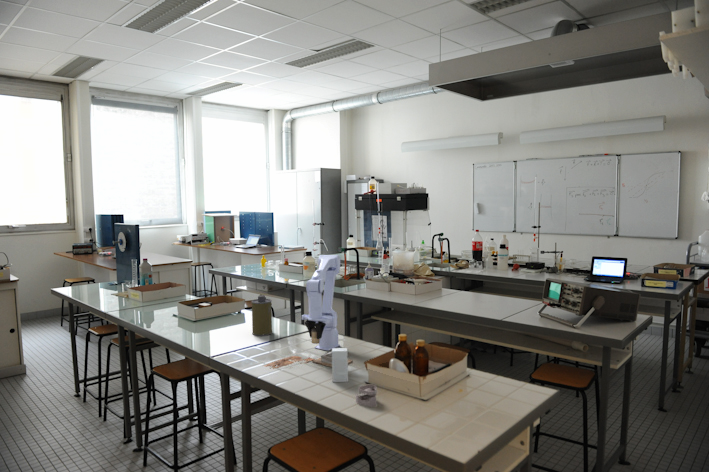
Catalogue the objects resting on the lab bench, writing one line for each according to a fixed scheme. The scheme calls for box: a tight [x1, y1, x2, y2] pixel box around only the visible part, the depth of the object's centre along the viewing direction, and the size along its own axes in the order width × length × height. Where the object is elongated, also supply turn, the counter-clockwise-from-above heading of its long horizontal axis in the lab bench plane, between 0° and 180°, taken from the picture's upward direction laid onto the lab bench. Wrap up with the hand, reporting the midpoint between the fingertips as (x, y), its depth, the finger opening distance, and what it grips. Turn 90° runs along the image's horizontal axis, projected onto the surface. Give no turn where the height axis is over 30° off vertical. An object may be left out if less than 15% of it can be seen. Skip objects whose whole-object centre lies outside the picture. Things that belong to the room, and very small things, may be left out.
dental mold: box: [355, 383, 378, 408], centre depth 159 cm, size 8×7×5 cm
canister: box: [251, 294, 273, 337], centre depth 247 cm, size 11×10×20 cm
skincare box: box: [331, 347, 349, 383], centre depth 180 cm, size 6×4×12 cm
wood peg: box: [311, 327, 320, 344], centre depth 204 cm, size 4×4×6 cm
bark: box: [262, 355, 316, 370], centre depth 200 cm, size 22×12×1 cm, turn 139°
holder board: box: [311, 351, 353, 368], centre depth 200 cm, size 10×14×3 cm
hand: (315, 337), depth 204 cm, fingers closed on wood peg, 3 cm apart
